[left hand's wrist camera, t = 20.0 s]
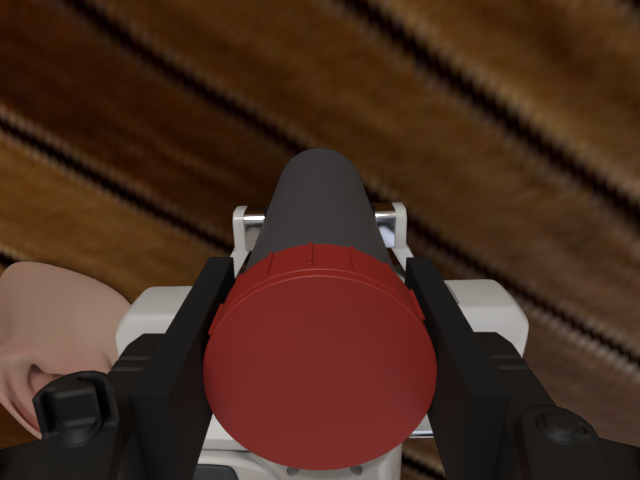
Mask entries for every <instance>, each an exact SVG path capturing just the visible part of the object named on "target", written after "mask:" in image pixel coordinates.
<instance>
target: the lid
mask: <svg viewBox="0 0 640 480" xmlns="http://www.w3.org/2000/svg"><path fill="white" fill-rule="evenodd" d="M424 319H425V317H424V315H423V313H422V310H421V308H420V306H419V303H418V301H417V298H416V296H415V294H414V292H413V290H412V289H411V290H409V289H408V288H407V286H406V285H405V283H404V282H403V281H402V280H401V279H400V278H399V276H398V275H397V274H396V273H395V272H394V271H393V270H391V268H390V265H389V264H388V263H387V262H386V263H385V264H384V263H382V262H381V261H379V260H377V259H376V258H374V257H372V256H370V255H368V254H366V253H363V252H361V251H359V250H355V249H354V246H350V247H349V248H348V247H344V246H338V245H332V244H313V242H309V243H308V245H301V246H296V247H291V248H288V249H285V250H282V251H279V252H276V253H273V252H270V253H269V255H268V257H266V258H264V259H262V260H261V261H259V262H258V263H256V264H255V265H253V266H252V267H251V268H250V269H249V270H247V271H246V272H245V273H244V274H243V275H242V274H241V273H240V274H239V275H238V277H237V279H236V282H235V284H234V286H233V287H232V289H231V291H230V292H229V294H228V296H227V298H226V300H225V302H224V304H222V303H221V304H220V306H219V308H218V311H217V313H216V315H215V318H214V320H213V322H212V325H211V327H210V329H209V332H208V335H211V336H210V339H209V341H208V343H207V346H206V350H205V354H204V358H203V380H204V389H205V395H206V398H207V401H208V403H209V406H210V409H211V410H212V412H213V414H214V416H215V418H216V419H217V421H218V422H219V423H220V425H221V426H222V427H223V429H224V430H225V431H226V432H227V433H228V434H229V435H230V436H231V437H232V438H233V439H234V440H235V441H236V442H238V443H239V444H240V445H242V446H243V447H244V448H246V449H247V450H249V451H250V452H252V453H254V454H255V455H257V456H260V457H262V458H264V459H266V460H268V461H271V462H274V463H277V464H279V465H283V466H287V467H291V468H297V469H304V470H337V469H343V468H349V467H353V466H356V465H360V464H364V463H366V462H369V461H371V460H374V459H376V458H378V457H380V456H382V455H384V454H386V453H388V452H389V451H391V450H392V449H394V448H395V447H397V446H398V445H400V444H401V443H402V442H403V441H404V440H406V439H407V438H408V437H409V436H410V435H411V434H412V433H413V432H414V431H415V429H416V428H417V427H418V426H419V424H420V423H421V422H422V420H423V419H424V417H425V416H426V414H427V412H428V410H429V408H430V406H431V403H432V400H433V397H434V394H435V386H436V377H437V361H436V354H435V351H434V348H433V344H432V341H431V339H430V336H429V334H428V332H427V329H426V327H425V324H424V322H423V320H424Z"/></svg>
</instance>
